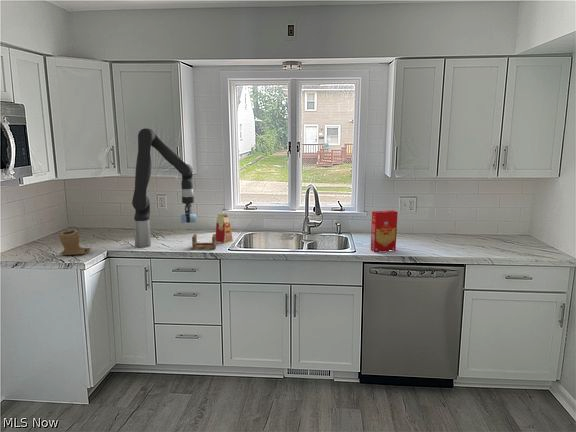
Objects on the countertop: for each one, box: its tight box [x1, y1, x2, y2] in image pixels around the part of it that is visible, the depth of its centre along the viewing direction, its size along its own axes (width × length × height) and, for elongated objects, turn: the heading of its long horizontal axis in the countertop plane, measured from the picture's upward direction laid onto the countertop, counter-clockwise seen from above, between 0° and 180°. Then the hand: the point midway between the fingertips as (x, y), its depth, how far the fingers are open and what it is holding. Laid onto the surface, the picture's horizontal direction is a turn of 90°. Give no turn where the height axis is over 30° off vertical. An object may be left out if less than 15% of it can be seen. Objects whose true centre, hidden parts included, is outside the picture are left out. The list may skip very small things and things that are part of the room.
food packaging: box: [370, 210, 398, 253], centre depth 276 cm, size 15×5×25 cm, turn 106°
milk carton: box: [215, 212, 234, 245], centre depth 297 cm, size 9×9×20 cm
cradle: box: [191, 233, 217, 251], centre depth 281 cm, size 14×9×8 cm, turn 94°
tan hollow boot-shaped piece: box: [59, 229, 91, 256], centre depth 263 cm, size 15×12×15 cm
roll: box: [180, 213, 197, 224], centre depth 285 cm, size 10×6×6 cm, turn 96°
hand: (188, 221), depth 285 cm, fingers closed on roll, 5 cm apart
